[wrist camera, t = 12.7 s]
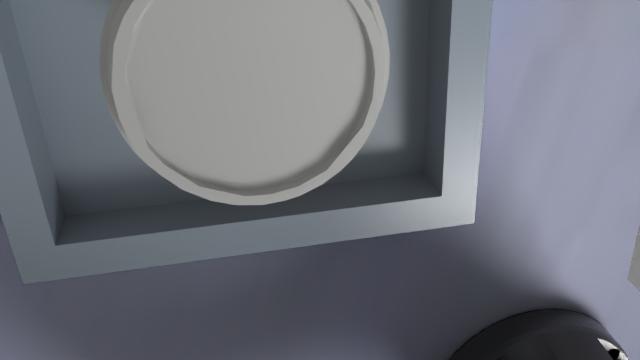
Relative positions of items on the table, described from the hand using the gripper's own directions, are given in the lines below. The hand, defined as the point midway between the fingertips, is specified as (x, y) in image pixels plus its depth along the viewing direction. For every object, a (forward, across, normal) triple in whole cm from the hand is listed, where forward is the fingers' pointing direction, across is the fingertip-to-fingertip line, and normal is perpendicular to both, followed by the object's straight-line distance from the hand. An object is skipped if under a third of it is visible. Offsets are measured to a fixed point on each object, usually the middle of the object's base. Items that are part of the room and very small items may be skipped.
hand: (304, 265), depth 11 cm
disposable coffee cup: (+22, 0, 0) cm, 22 cm away
